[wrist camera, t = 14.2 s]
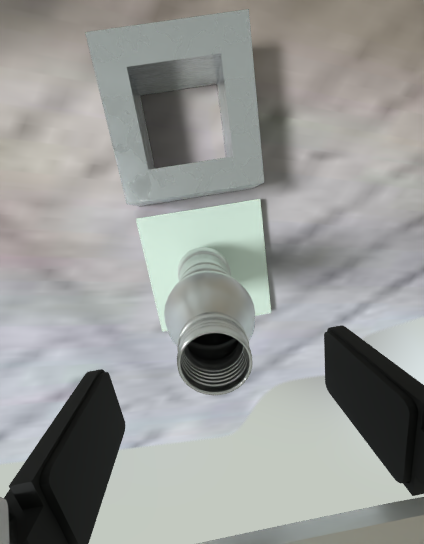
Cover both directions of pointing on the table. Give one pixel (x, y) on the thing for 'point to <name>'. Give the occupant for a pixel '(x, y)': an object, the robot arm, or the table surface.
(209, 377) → the plastic bottle
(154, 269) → the pad
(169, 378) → the table surface
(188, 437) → the table surface
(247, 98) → the bore block
